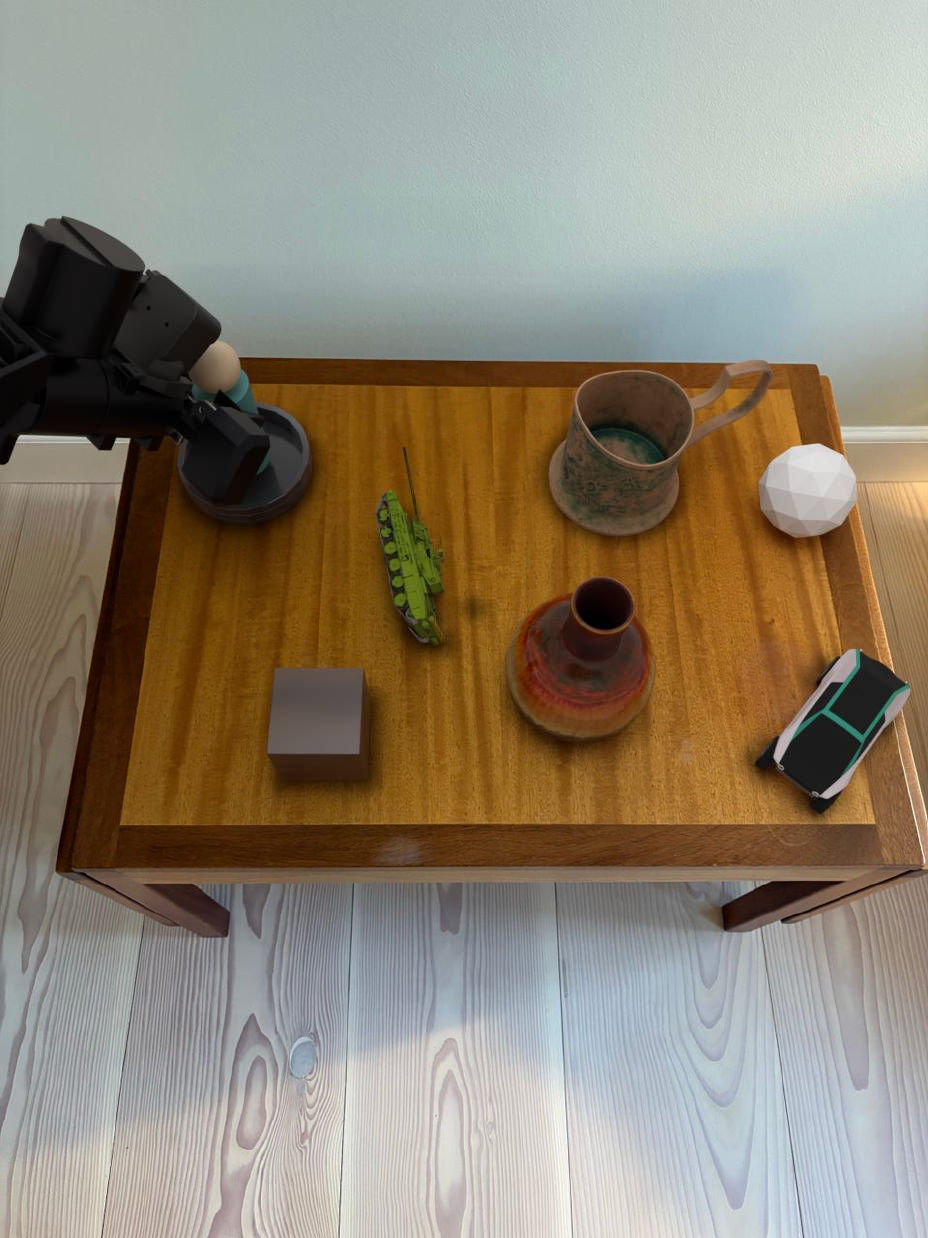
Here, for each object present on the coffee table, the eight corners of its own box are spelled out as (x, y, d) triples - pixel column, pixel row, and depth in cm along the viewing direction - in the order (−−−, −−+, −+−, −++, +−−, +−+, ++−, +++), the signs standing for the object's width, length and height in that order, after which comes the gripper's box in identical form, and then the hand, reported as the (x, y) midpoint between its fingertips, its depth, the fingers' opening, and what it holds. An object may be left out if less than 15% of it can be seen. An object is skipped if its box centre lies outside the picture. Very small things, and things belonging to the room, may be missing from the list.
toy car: (895, 706, 71) (928, 682, 66) (814, 819, 67) (843, 802, 62) (831, 660, 73) (859, 633, 68) (749, 767, 69) (772, 747, 64)
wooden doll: (280, 457, 77) (250, 349, 65) (240, 487, 76) (202, 382, 64) (248, 428, 79) (212, 316, 66) (208, 456, 77) (164, 347, 65)
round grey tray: (308, 525, 77) (304, 510, 75) (177, 524, 77) (169, 508, 74) (316, 420, 82) (313, 402, 79) (193, 418, 81) (186, 400, 79)
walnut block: (367, 781, 67) (359, 754, 61) (282, 780, 67) (265, 754, 61) (371, 701, 70) (364, 667, 64) (289, 700, 70) (274, 667, 64)
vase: (655, 745, 69) (710, 672, 55) (515, 766, 68) (534, 696, 54) (623, 617, 74) (666, 519, 60) (491, 635, 73) (503, 539, 59)
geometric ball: (763, 551, 73) (728, 494, 79) (844, 560, 76) (805, 504, 81) (809, 475, 69) (768, 420, 74) (895, 487, 71) (849, 432, 76)
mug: (761, 500, 79) (812, 414, 68) (575, 551, 76) (597, 470, 65) (707, 400, 84) (747, 304, 73) (530, 444, 81) (544, 352, 70)
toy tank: (370, 633, 67) (499, 598, 66) (334, 431, 75) (449, 398, 74) (394, 665, 73) (512, 633, 72) (359, 476, 81) (465, 446, 80)
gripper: (217, 367, 53) (368, 386, 67) (37, 205, 58) (210, 254, 72) (148, 516, 58) (302, 506, 71) (-13, 354, 63) (159, 373, 76)
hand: (243, 406), depth 73 cm, fingers closed on wooden doll, 4 cm apart
